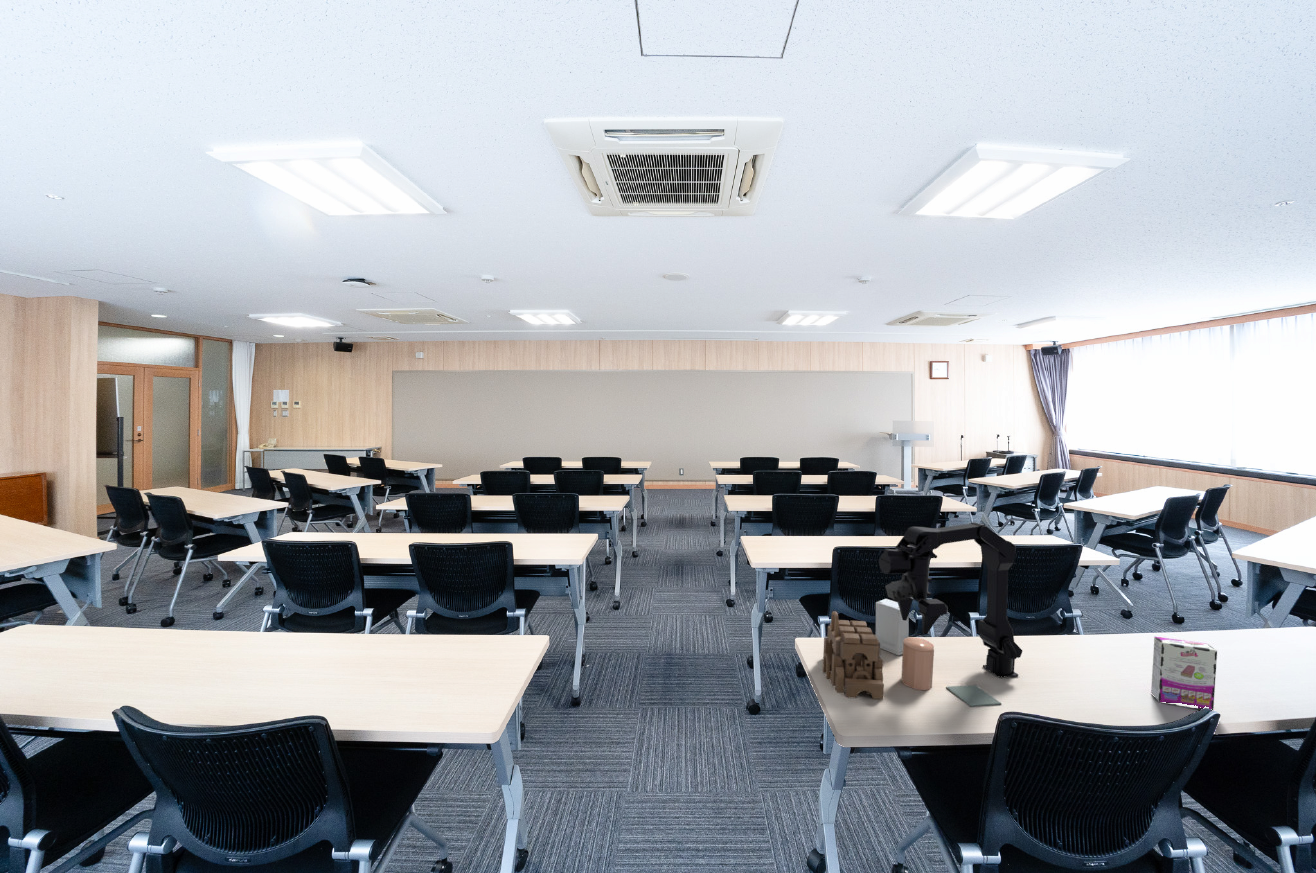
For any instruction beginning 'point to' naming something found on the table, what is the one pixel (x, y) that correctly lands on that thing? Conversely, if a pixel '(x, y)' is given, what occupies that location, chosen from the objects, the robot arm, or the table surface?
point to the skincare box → (891, 626)
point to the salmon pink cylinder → (917, 663)
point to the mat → (973, 695)
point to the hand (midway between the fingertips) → (914, 626)
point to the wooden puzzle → (853, 658)
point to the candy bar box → (1184, 672)
